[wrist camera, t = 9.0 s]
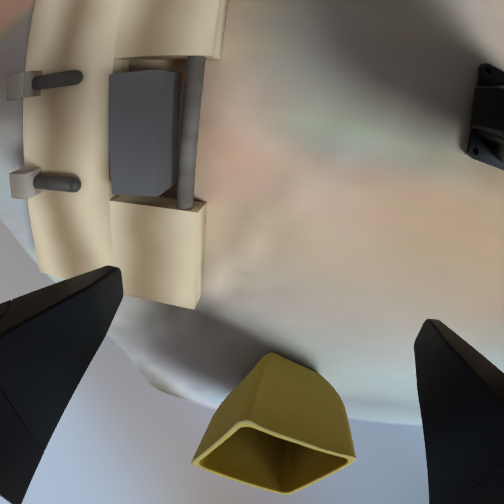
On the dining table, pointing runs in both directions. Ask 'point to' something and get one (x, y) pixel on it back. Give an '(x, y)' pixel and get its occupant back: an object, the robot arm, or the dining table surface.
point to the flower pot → (278, 429)
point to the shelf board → (97, 142)
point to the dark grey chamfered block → (143, 131)
